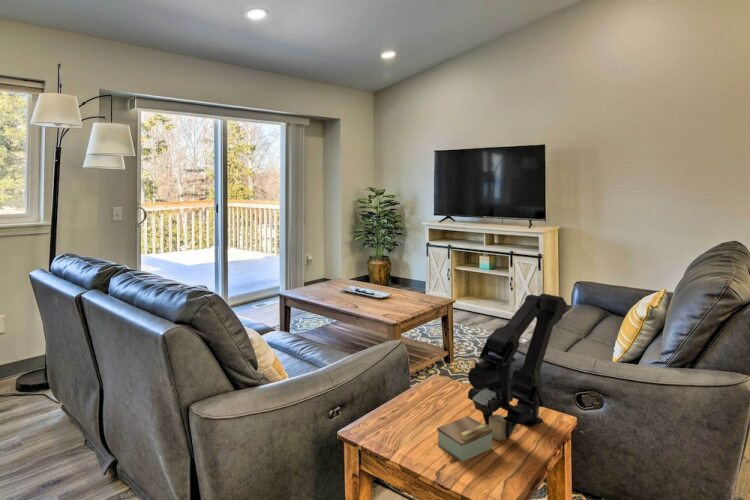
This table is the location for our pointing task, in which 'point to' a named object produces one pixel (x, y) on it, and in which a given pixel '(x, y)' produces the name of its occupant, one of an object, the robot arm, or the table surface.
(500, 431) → the dome-topped beige cylinder
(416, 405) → the table surface
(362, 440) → the table surface
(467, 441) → the lid
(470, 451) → the box body
